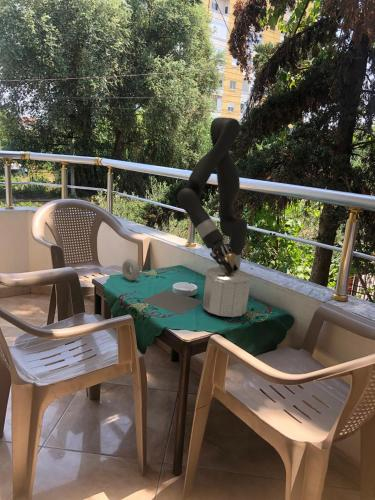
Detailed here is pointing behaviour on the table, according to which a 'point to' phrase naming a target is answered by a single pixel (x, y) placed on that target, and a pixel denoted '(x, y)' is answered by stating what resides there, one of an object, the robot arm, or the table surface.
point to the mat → (172, 302)
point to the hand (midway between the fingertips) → (233, 271)
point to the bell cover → (226, 290)
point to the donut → (126, 269)
